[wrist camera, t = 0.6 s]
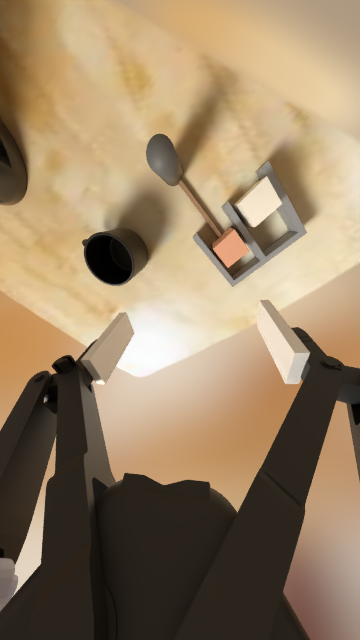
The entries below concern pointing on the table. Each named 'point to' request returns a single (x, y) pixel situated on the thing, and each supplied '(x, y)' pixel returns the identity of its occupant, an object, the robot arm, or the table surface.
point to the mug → (115, 255)
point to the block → (257, 203)
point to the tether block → (191, 196)
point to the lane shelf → (261, 257)
